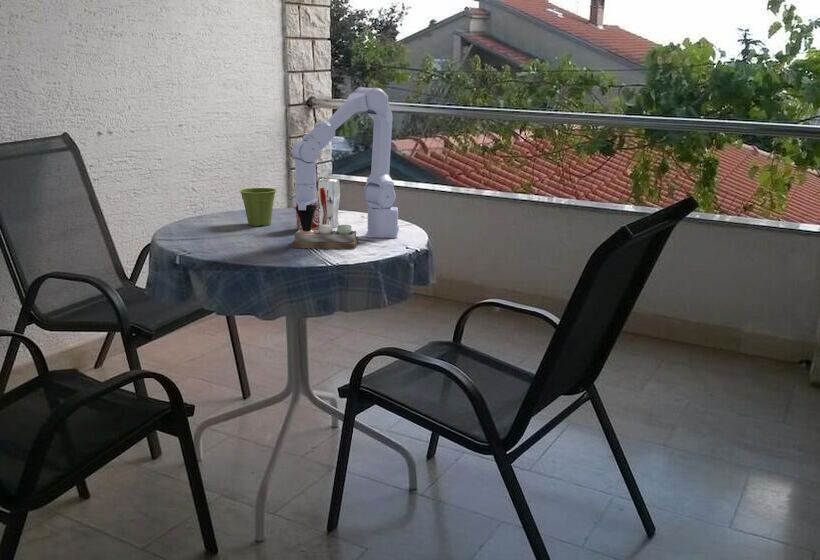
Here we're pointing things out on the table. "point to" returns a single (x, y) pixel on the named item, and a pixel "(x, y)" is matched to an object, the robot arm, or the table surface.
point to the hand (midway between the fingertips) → (306, 230)
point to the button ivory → (325, 229)
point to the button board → (325, 240)
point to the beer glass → (329, 201)
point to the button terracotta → (306, 232)
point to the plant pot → (258, 205)
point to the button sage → (344, 230)
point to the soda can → (315, 218)
